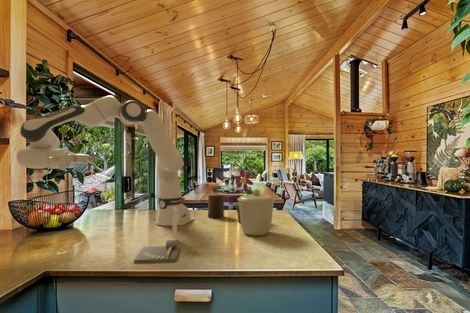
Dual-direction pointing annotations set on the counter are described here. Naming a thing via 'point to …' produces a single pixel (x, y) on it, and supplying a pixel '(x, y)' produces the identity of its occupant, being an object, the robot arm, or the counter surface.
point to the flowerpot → (245, 182)
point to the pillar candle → (215, 205)
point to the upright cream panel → (173, 233)
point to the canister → (256, 213)
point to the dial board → (156, 254)
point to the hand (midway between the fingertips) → (92, 159)
